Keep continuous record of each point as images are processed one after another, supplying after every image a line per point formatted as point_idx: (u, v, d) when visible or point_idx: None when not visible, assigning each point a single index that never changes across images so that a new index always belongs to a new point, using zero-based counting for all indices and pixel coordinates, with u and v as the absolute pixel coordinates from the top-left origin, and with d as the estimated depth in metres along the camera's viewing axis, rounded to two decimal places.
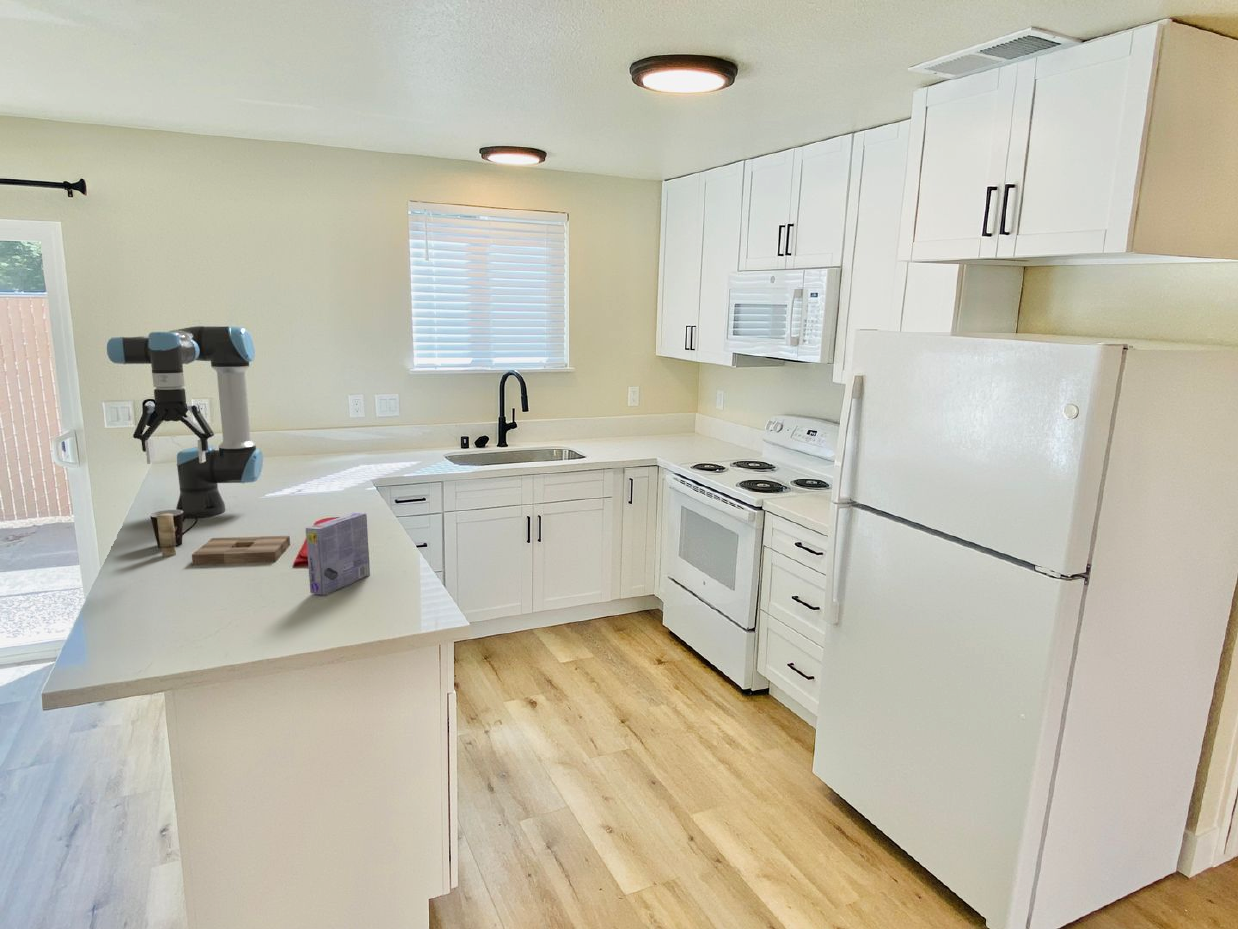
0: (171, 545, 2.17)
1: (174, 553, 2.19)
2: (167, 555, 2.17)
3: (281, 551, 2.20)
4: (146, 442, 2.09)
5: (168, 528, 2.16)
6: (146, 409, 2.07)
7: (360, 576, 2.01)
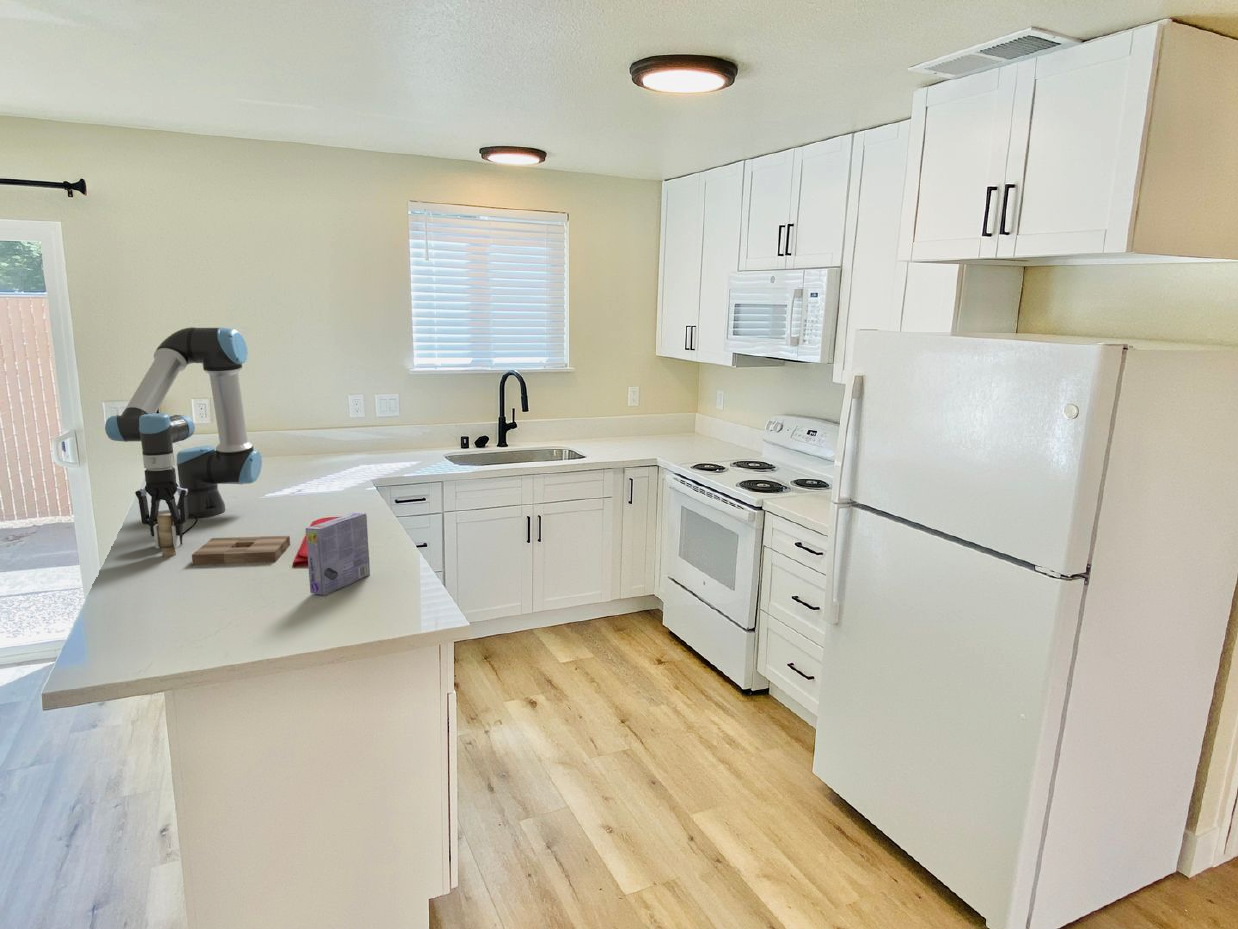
0: (171, 545, 2.17)
1: (174, 553, 2.19)
2: (167, 555, 2.17)
3: (281, 551, 2.20)
4: (154, 527, 2.15)
5: (168, 528, 2.16)
6: (139, 494, 2.13)
7: (360, 576, 2.01)
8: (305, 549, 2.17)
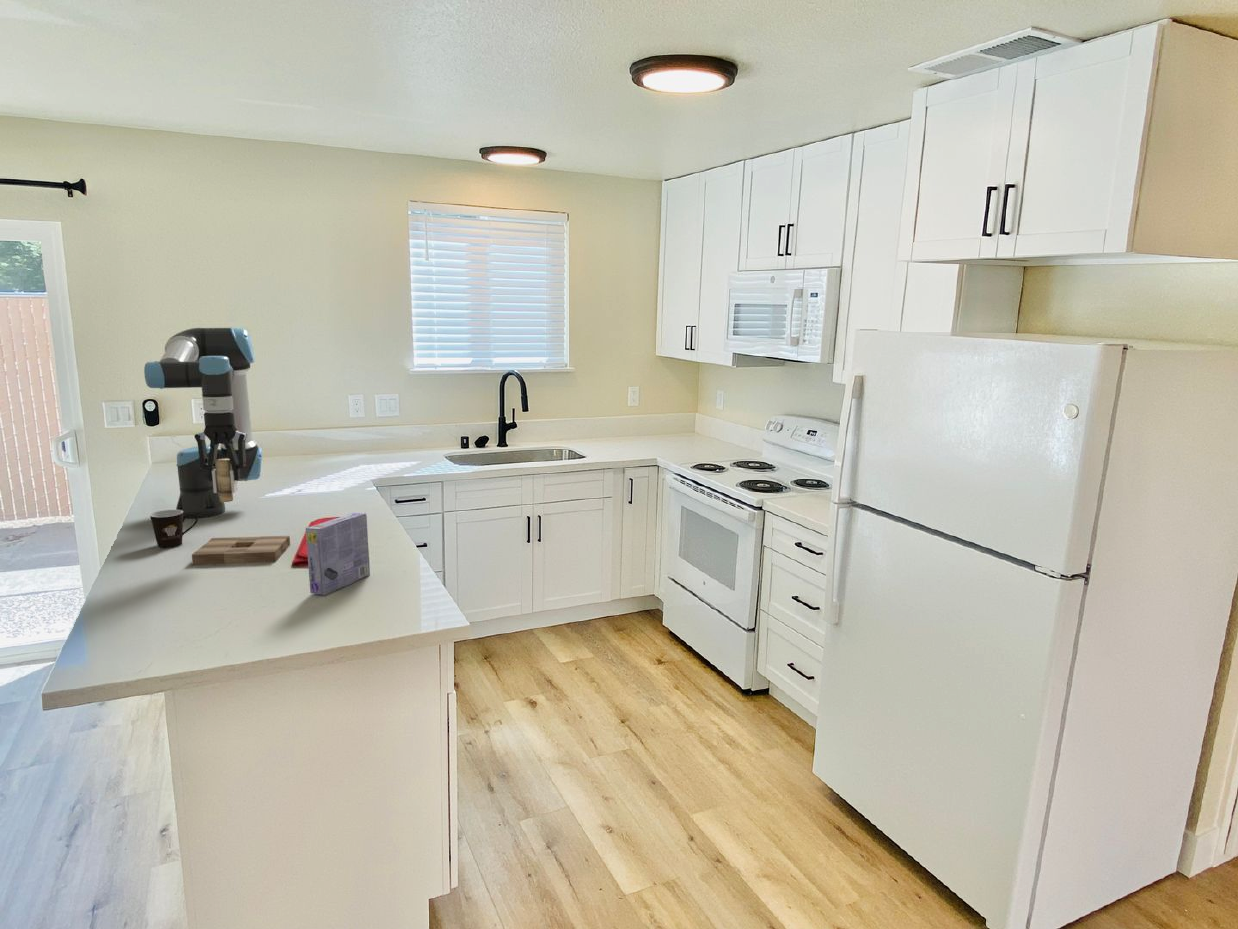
0: (229, 491, 2.14)
1: (232, 499, 2.16)
2: (225, 500, 2.14)
3: (281, 551, 2.20)
4: (213, 472, 2.13)
5: (226, 472, 2.13)
6: (198, 437, 2.11)
7: (360, 576, 2.01)
8: (304, 549, 2.17)
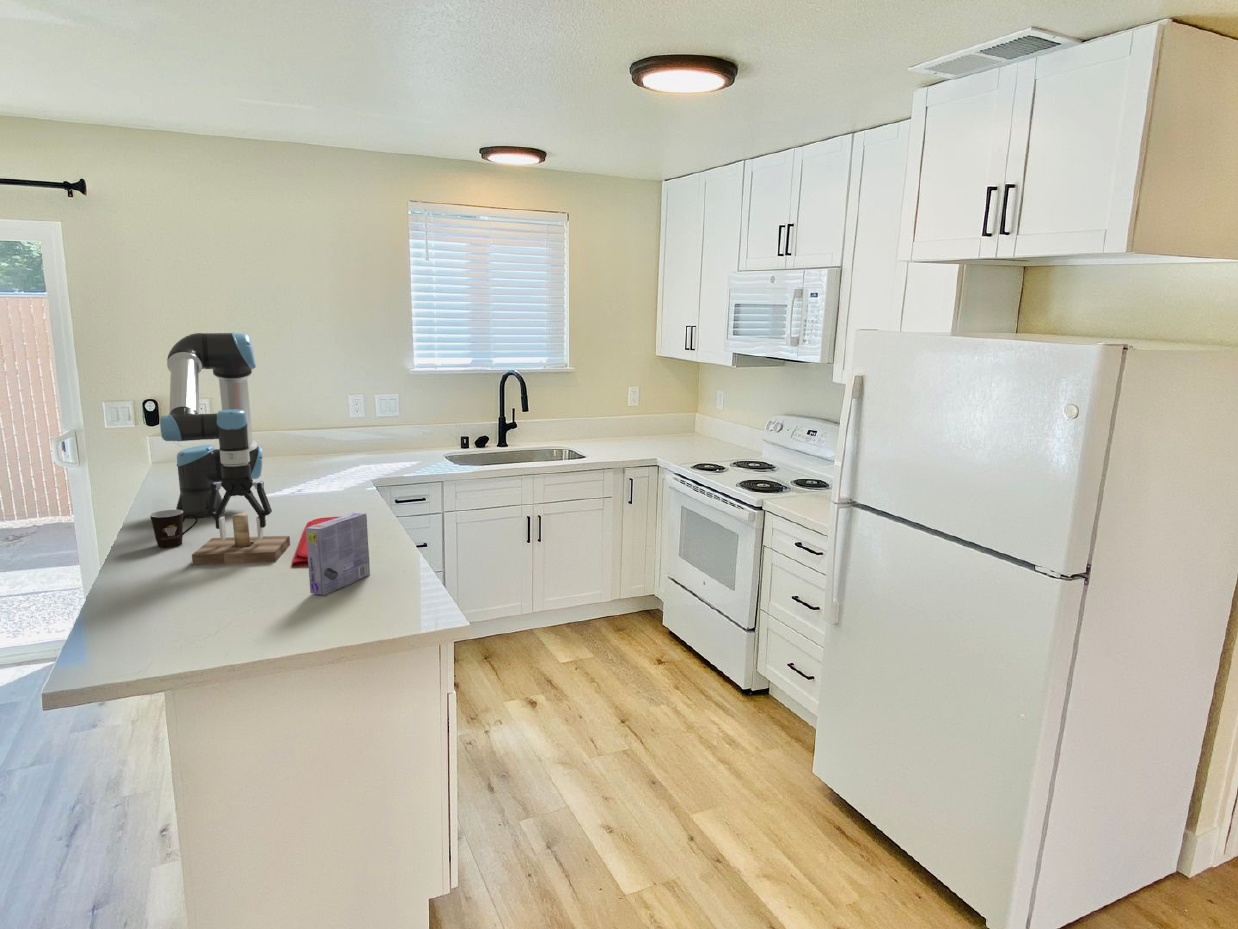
0: (246, 545, 2.18)
1: None
2: None
3: (281, 551, 2.20)
4: (220, 520, 2.16)
5: (243, 528, 2.17)
6: (214, 487, 2.14)
7: (360, 576, 2.01)
8: (303, 549, 2.17)
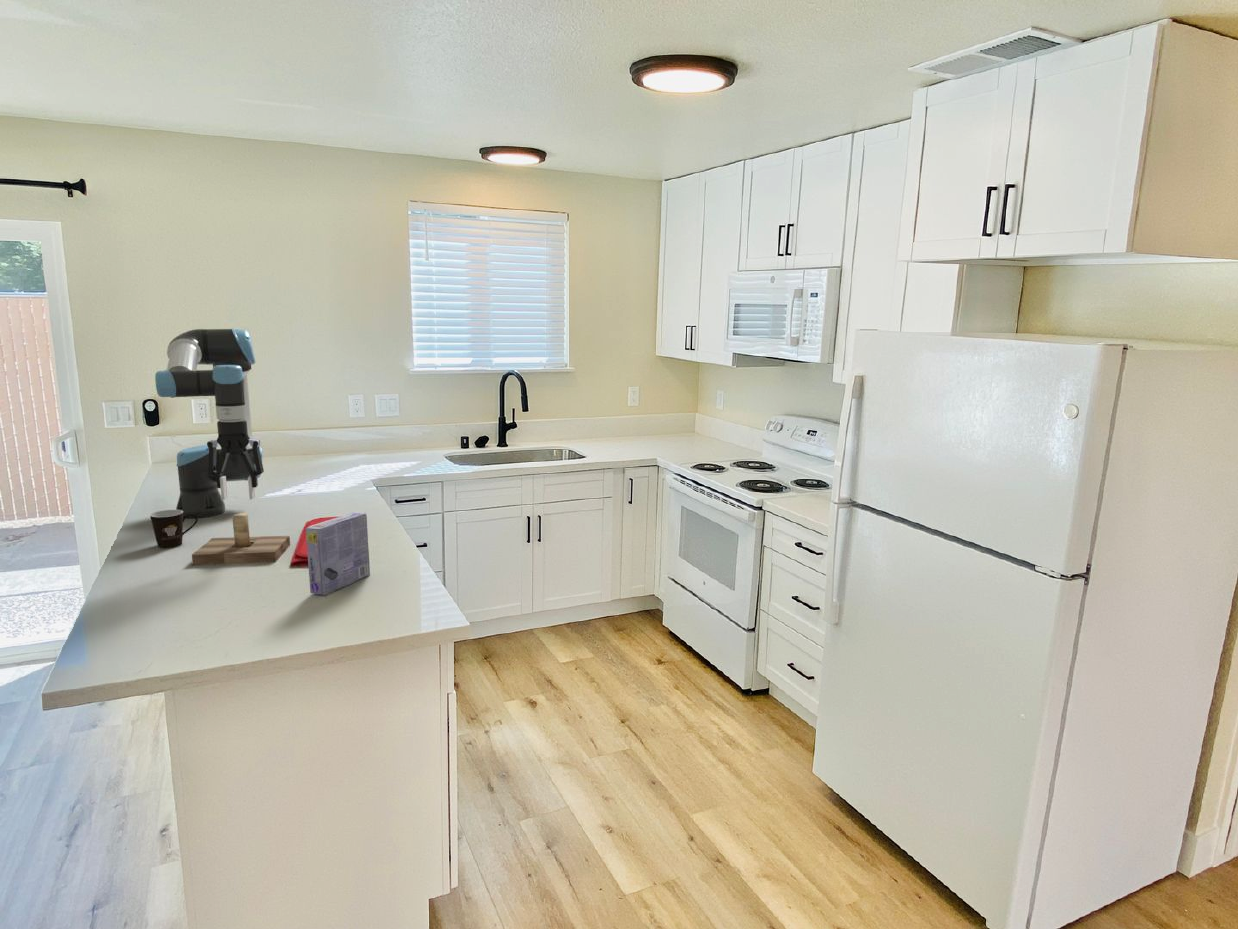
0: (246, 545, 2.18)
1: None
2: None
3: (281, 551, 2.20)
4: (221, 479, 2.14)
5: (243, 528, 2.17)
6: (210, 444, 2.11)
7: (360, 576, 2.01)
8: (302, 549, 2.17)
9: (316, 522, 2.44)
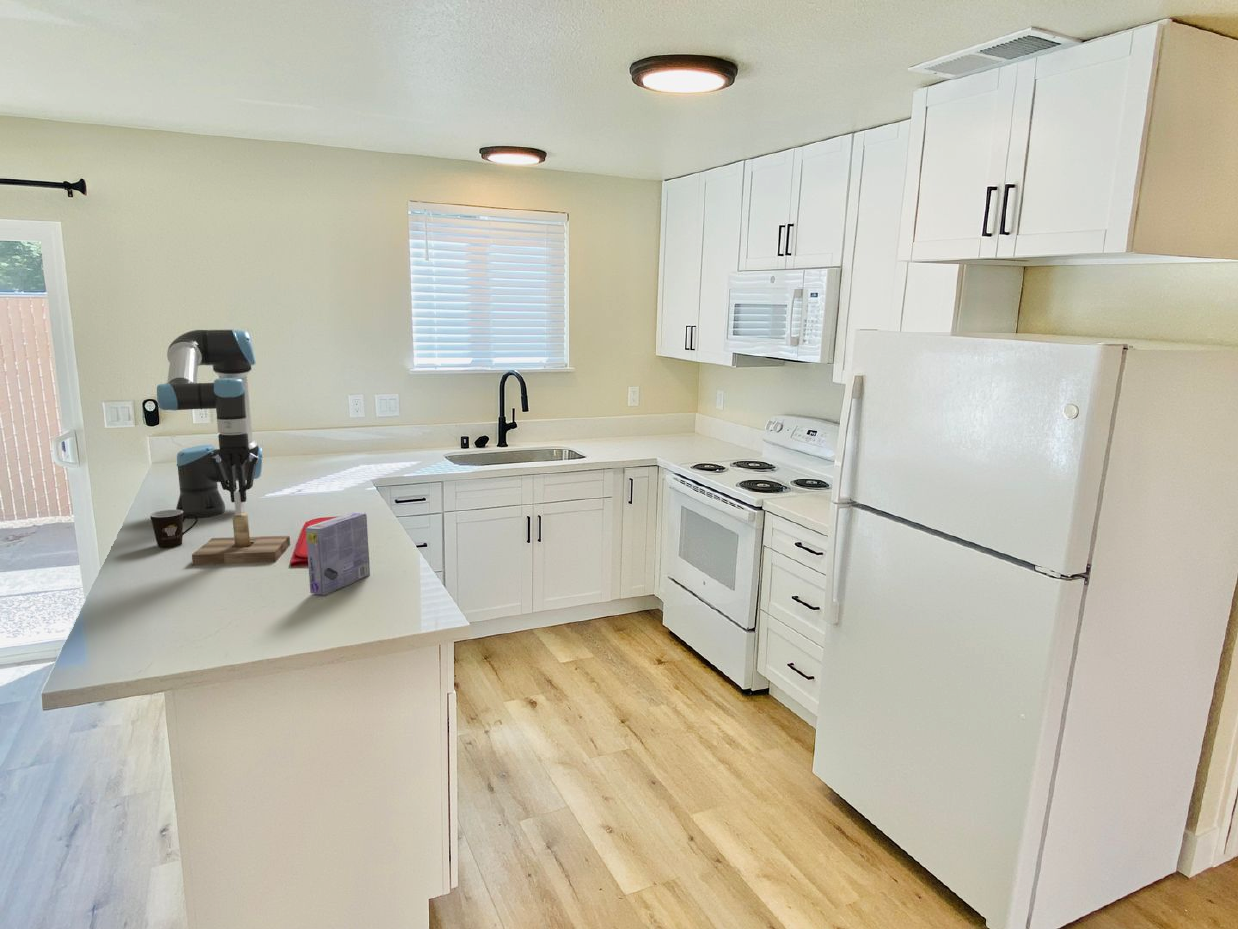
0: (246, 545, 2.18)
1: None
2: None
3: (281, 551, 2.20)
4: (235, 493, 2.15)
5: (243, 528, 2.17)
6: (214, 460, 2.12)
7: (360, 576, 2.01)
8: (302, 549, 2.17)
9: (315, 522, 2.44)
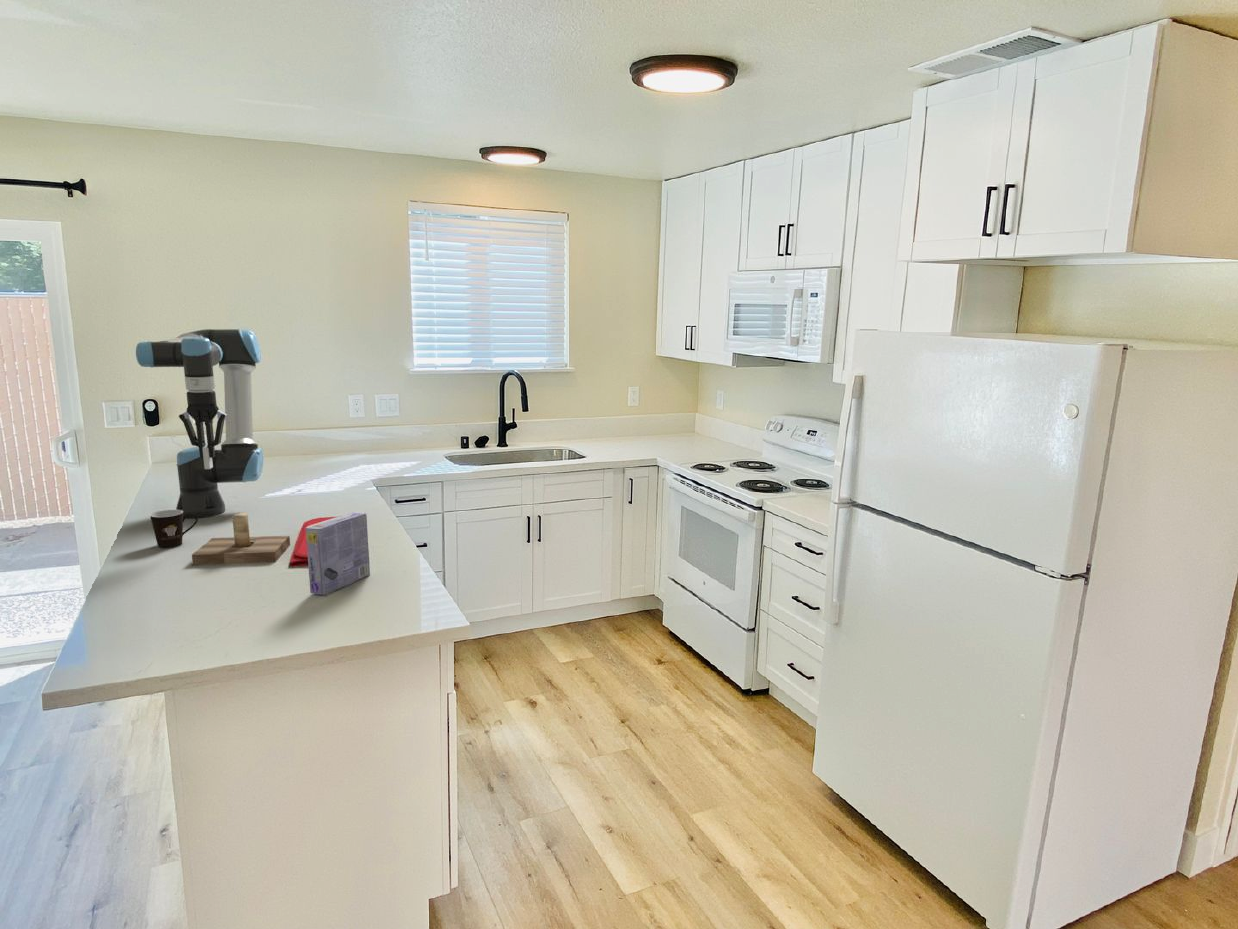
0: (246, 545, 2.18)
1: None
2: None
3: (281, 551, 2.20)
4: (203, 449, 2.24)
5: (243, 528, 2.17)
6: (182, 417, 2.21)
7: (360, 576, 2.01)
8: (301, 549, 2.17)
9: (314, 522, 2.44)
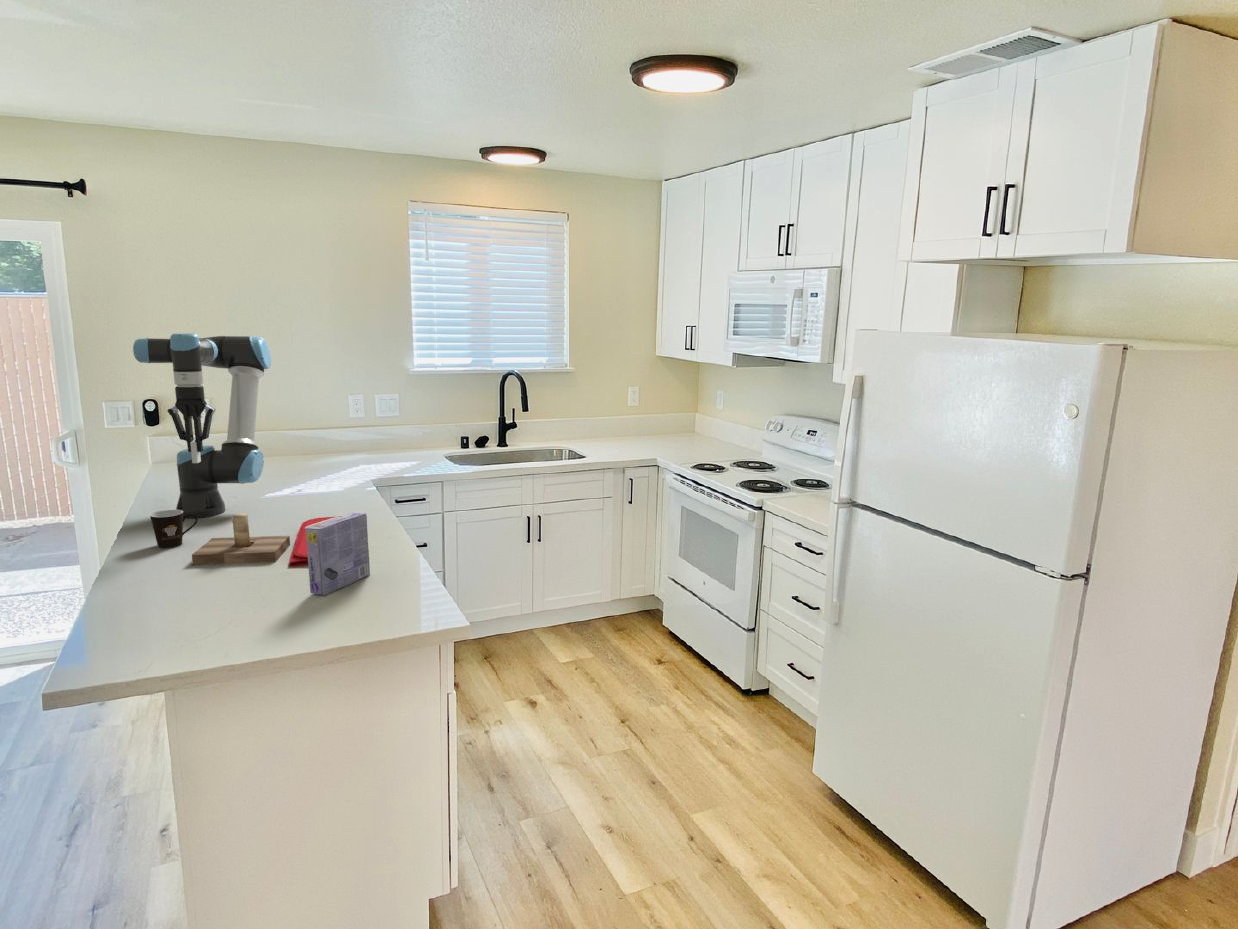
0: (246, 545, 2.18)
1: None
2: None
3: (281, 551, 2.20)
4: (191, 443, 2.27)
5: (243, 528, 2.17)
6: (171, 411, 2.25)
7: (360, 576, 2.01)
8: (300, 549, 2.17)
9: (312, 522, 2.44)
